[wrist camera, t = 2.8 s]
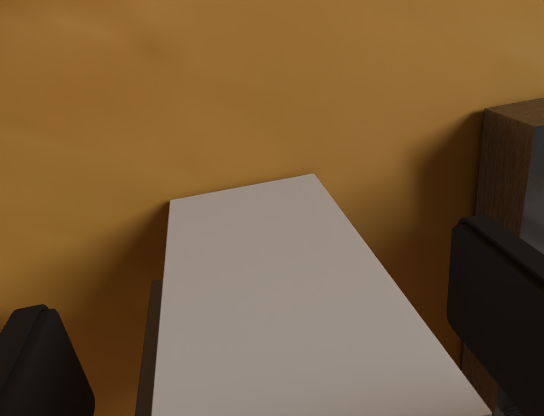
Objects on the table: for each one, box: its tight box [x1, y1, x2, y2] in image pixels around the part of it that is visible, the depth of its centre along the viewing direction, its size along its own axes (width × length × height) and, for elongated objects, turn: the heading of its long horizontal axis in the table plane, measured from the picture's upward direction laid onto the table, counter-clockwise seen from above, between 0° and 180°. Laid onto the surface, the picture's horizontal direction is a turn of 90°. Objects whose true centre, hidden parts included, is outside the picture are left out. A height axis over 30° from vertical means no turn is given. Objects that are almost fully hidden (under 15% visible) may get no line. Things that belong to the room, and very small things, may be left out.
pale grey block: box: [135, 173, 492, 416], centre depth 9 cm, size 4×4×8 cm
